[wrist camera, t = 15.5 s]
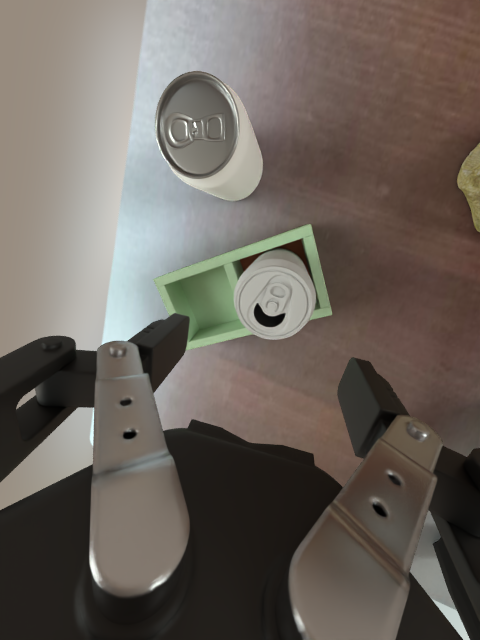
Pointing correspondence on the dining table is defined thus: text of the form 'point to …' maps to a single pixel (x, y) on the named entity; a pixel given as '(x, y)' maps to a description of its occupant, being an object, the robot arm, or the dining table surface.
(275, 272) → the beverage can
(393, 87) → the dining table surface
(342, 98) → the dining table surface
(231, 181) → the can
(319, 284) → the cup holder
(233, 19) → the dining table surface
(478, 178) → the ceramic model
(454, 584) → the portable speaker
